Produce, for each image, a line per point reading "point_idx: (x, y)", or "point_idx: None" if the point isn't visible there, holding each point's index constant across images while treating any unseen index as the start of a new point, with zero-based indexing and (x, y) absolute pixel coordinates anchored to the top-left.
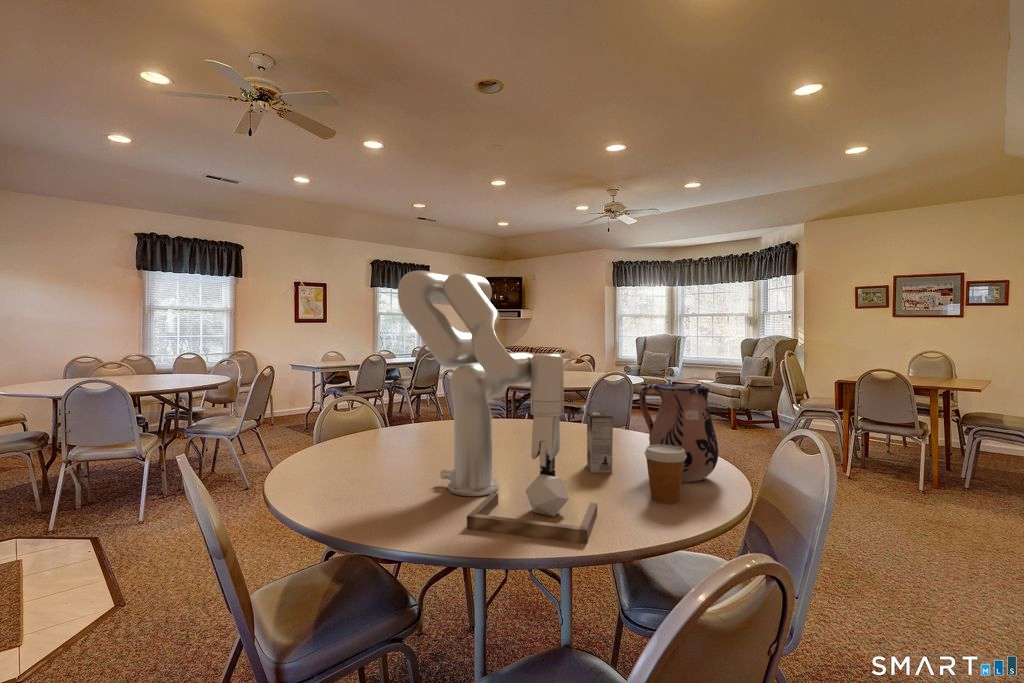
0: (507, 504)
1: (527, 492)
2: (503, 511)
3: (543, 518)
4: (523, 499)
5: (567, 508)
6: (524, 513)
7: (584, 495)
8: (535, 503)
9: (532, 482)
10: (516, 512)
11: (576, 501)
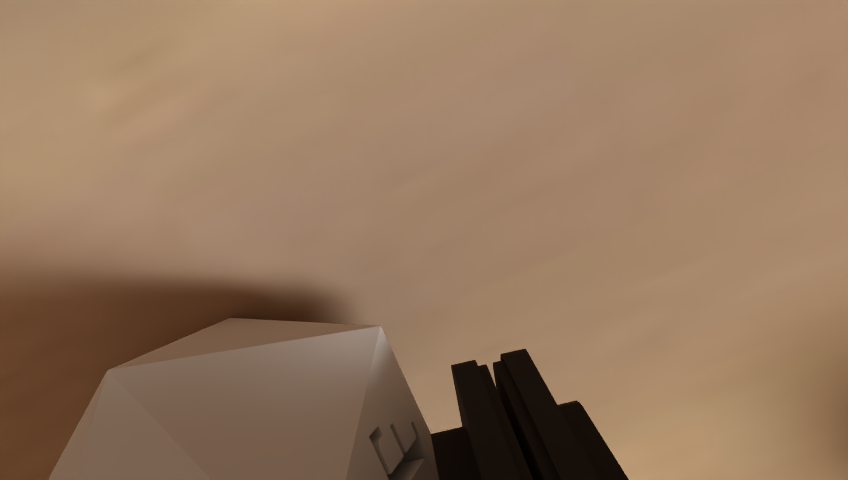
0: (272, 22)
1: (94, 400)
2: (79, 79)
3: None
4: (474, 104)
5: None
6: (162, 268)
7: (721, 457)
8: (53, 474)
9: (195, 468)
10: (138, 200)
11: None
